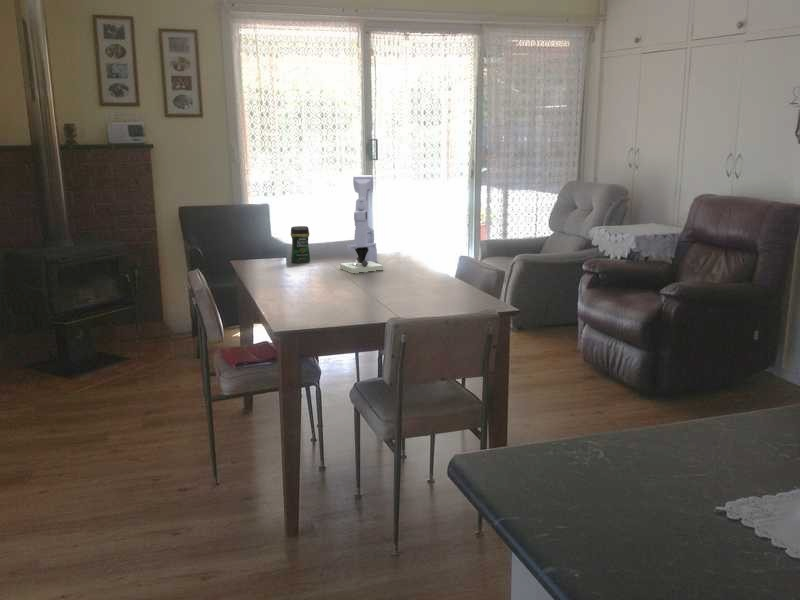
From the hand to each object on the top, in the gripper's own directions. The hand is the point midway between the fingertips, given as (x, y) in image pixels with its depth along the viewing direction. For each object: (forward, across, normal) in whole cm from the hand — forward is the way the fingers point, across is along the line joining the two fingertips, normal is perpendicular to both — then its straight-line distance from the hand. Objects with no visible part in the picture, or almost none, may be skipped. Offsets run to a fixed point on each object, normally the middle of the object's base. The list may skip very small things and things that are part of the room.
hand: (362, 263), depth 354 cm
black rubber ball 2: (-1, -1, -6) cm, 6 cm away
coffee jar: (+3, -19, +35) cm, 40 cm away
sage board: (+3, 0, 0) cm, 3 cm away
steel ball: (+2, -4, 0) cm, 4 cm away
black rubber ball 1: (-1, +2, +6) cm, 6 cm away
